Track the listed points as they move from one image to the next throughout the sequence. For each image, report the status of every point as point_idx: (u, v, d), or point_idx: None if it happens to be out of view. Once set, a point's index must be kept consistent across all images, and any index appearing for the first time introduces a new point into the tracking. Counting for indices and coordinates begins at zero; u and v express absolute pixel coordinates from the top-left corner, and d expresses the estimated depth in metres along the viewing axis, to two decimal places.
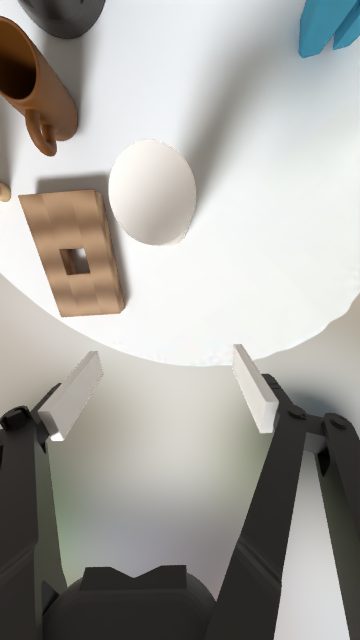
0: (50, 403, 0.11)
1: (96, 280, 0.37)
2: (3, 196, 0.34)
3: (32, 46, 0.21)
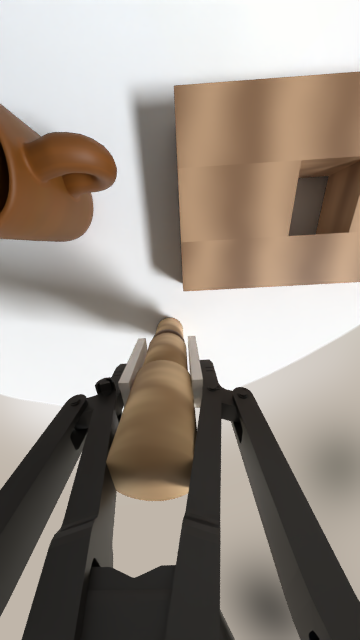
0: (126, 377, 0.13)
1: None
2: (178, 325, 0.21)
3: None
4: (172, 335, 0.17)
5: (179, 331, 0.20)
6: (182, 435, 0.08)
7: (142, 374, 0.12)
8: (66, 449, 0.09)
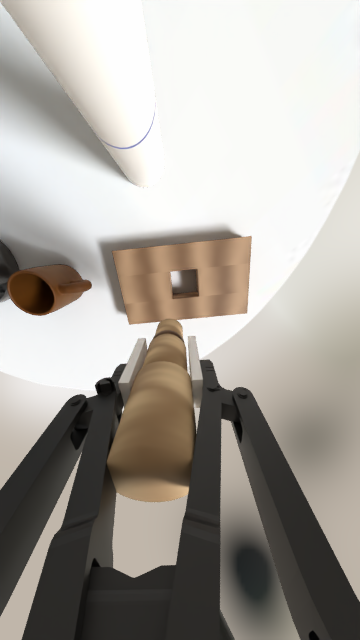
0: (126, 377, 0.13)
1: (205, 262, 0.31)
2: (178, 326, 0.21)
3: (15, 272, 0.26)
4: (172, 336, 0.17)
5: (179, 332, 0.20)
6: (181, 437, 0.08)
7: (142, 375, 0.12)
8: (66, 449, 0.09)
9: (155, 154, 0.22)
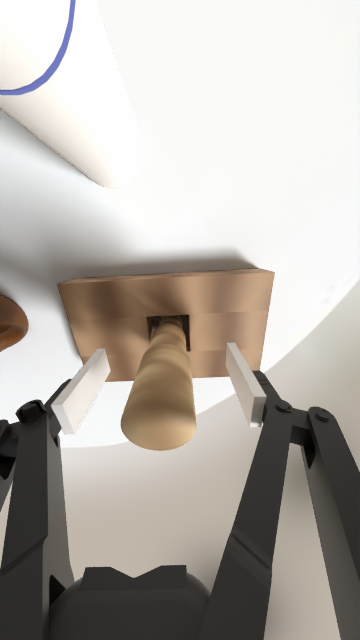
0: (62, 397, 0.11)
1: (202, 306, 0.20)
2: (178, 318, 0.23)
3: None
4: (173, 325, 0.20)
5: (179, 323, 0.22)
6: (181, 395, 0.10)
7: (148, 355, 0.14)
8: None
9: (110, 126, 0.11)
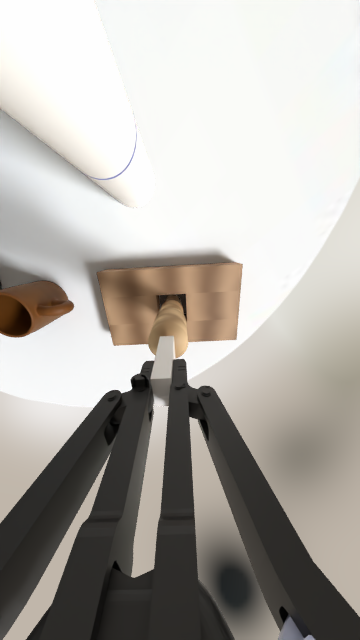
0: (156, 373, 0.13)
1: (194, 288, 0.29)
2: (178, 298, 0.33)
3: None
4: (174, 300, 0.29)
5: (179, 301, 0.32)
6: (180, 326, 0.20)
7: (160, 313, 0.24)
8: (99, 444, 0.09)
9: (140, 181, 0.21)
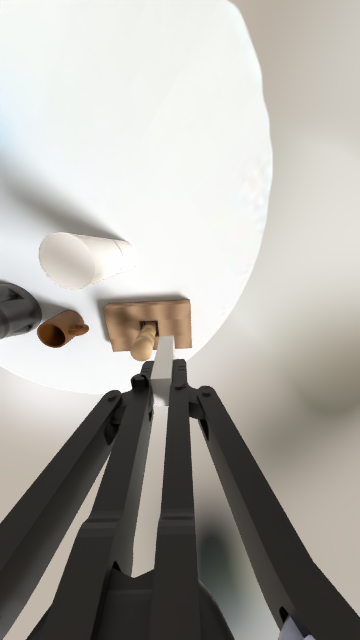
0: (156, 373, 0.13)
1: (162, 317, 0.48)
2: (154, 321, 0.51)
3: (43, 323, 0.43)
4: (150, 325, 0.47)
5: (154, 324, 0.50)
6: (147, 344, 0.38)
7: (139, 335, 0.42)
8: (99, 444, 0.09)
9: (127, 267, 0.39)
